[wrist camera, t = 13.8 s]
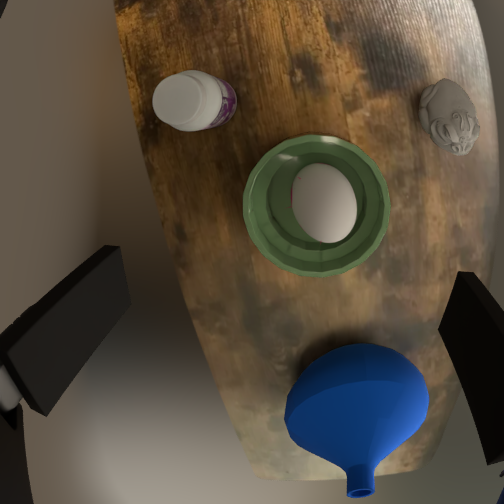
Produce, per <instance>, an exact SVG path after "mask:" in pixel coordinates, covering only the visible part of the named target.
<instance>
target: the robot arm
mask: <svg viewBox="0 0 504 504" xmlns="http://www.w3.org/2000/svg"><path fill="white" fill-rule="evenodd" d="M130 305H131V299H130V295H129V291H128V285H127V282H126V276H125V271H124V266H123V261H122V255H121V250H120V247H119V246H110V245H104V246H103V247H102V248H101V249H99V250H98V251H97V252H96V253H94V254H93V255H92V256H91V257H90V258H88V259H87V260H86V261H84V262H83V263H82V264H81V265H80V266H78V267H77V268H76V269H75V270H74V271H72V272H71V273H70V274H69V275H68V276H66V277H65V278H64V279H63V280H62V281H60V282H59V283H58V284H57V285H56V286H55V287H54V288H53V289H51V290H50V291H49V292H48V293H47V294H46V295H44V296H43V297H42V298H41V299H40V300H39V301H38V302H37V303H35V304H34V305H32V306H30V307H29V308H28V309H27V310H25V311H24V312H23V313H22V314H21V315H20V317H18V318H17V319H16V320H15V321H14V322H13V324H11V325H9V326H8V327H7V328H6V329H5V330H4V331H3V332H2V333H1V334H0V504H34V503H33V499H32V493H31V487H30V481H29V475H28V468H27V460H26V451H25V442H24V428H23V427H24V426H23V410H22V406H21V404H20V403H19V401H20V400H21V399H22V398H24V399H25V401H26V402H27V404H28V405H29V407H30V408H31V409H33V410H35V411H36V412H38V413H40V414H42V415H44V416H46V417H47V416H48V414H49V413H50V411H51V410H52V408H53V407H54V406H55V404H56V403H57V401H58V400H59V399H60V397H61V396H62V394H63V393H64V391H65V390H66V389H67V387H68V386H69V384H70V383H71V382H72V381H73V379H74V378H75V376H76V375H77V374H78V372H79V371H80V370H81V368H82V367H83V366H84V364H85V363H86V361H87V360H88V359H89V357H90V356H91V355H92V353H93V352H94V351H95V350H96V348H97V347H98V346H99V345H100V343H101V342H102V341H103V339H104V338H105V337H106V335H107V334H108V333H109V332H110V330H111V329H112V328H113V326H114V325H115V324H116V323H117V321H118V320H119V319H120V318H121V316H122V315H123V314H124V313H125V311H126V310H127V309H128V308H129V306H130ZM438 331H439V333H440V335H441V337H442V340H443V342H444V344H445V346H446V349H447V351H448V353H449V356H450V358H451V360H452V363H453V365H454V368H455V370H456V373H457V375H458V378H459V380H460V383H461V385H462V388H463V390H464V393H465V396H466V399H467V401H468V404H469V407H470V410H471V413H472V416H473V419H474V422H475V425H476V428H477V431H478V434H479V438H480V441H481V444H482V447H483V451H484V455H485V458H486V462H487V465H491V464H494V463H498V462H501V461H504V311H503V310H502V308H501V307H500V306H499V304H498V303H497V302H496V300H495V299H494V298H493V296H492V295H491V294H490V292H489V291H488V290H487V289H486V287H485V286H484V285H483V284H482V282H481V281H480V280H479V279H478V277H477V276H476V275H475V274H474V272H462V271H458V273H457V277H456V280H455V283H454V286H453V289H452V292H451V295H450V298H449V301H448V304H447V307H446V309H445V312H444V315H443V318H442V320H441V323H440V325H439V328H438ZM502 476H504V470H503V471H502V472H501V474H500V477H502ZM497 504H504V488H503V490H502V493H501V495H500V497H499V499H498V502H497Z"/></svg>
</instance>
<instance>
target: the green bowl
mask: <svg viewBox="0 0 504 504" xmlns="http://www.w3.org/2000/svg"><path fill="white" fill-rule="evenodd" d="M313 163H324V164H328V165H331V166H333V167H334V168H336V169H338V170H339V171H340V172H341V173H342V174H343V175H344V176H345V177H346V178H347V180H348V181H349V183H350V184H351V186H352V188H353V191H354V194H355V197H356V202H357V216H356V221H355V224H354V226H353V228H352V230H351V231H350V233H349V234H348V235H347V236H346V237H345V238H343V239H342V240H340V241H337V242H333V243H324V242H321V244H320V241H318V240H316V239H314V238H312V237H311V236H309V235H308V234H307V233H306V232H305V231H304V230H303V229H302V228H301V226H300V225H299V223H298V221H297V220H296V218H295V215H294V213H293V209H292V207H290V206H292V205H291V188H292V184H293V181H294V179H295V177H296V175H297V174H298V173H299V171H300V170H301V169H303V168H304V167H305V166H307V165H310V164H313ZM390 205H391V203H390V198H389V192H388V187H387V183H386V181H385V179H384V177H383V175H382V173H381V172H380V170H379V168H378V166H377V164H376V163H375V162H374V161H373V160H372V159H371V158H370V157H369V156H368V155H367V154H366V153H364V152H363V151H362V150H361V149H360V148H359V147H358V146H356V145H355V144H353V143H351V142H350V141H347V140H345V139H343V138H340V137H338V136H336V135H333V134H330V133H319V132H306V133H302V134H298V135H294V136H291V137H288V138H286V139H284V140H283V141H281V142H280V143H278V144H277V145H275V146H274V147H272V148H271V149H270V150H269V151H267V152H266V153H265V154H264V155H263V157H262V158H261V159H260V160H259V162H258V163H257V164H256V166H255V167H254V168H253V170H252V171H251V172H250V174H249V177H248V180H247V183H246V186H245V189H244V192H243V218H244V221H245V224H246V227H247V230H248V233H249V236H250V238H251V240H252V241H253V243H254V244H255V245H256V247H257V248H258V249H259V251H260V252H261V253H262V255H263V256H264V257H266V258H267V259H268V260H270V261H271V262H272V263H274V264H275V265H276V266H278V267H279V268H281V269H283V270H286V271H289V272H291V273H294V274H297V275H299V276H308V277H327V276H332V275H337V274H342V273H345V272H347V271H348V270H350V269H352V268H354V267H356V266H358V265H359V264H361V263H363V262H364V261H365V260H366V259H367V258H368V257H369V256H370V255H371V254H372V253H373V252H374V251H375V250H376V248H377V247H378V246H379V244H380V242H381V240H382V238H383V236H384V234H385V232H386V230H387V227H388V222H389V215H390V208H391V206H390ZM288 207H290V208H288Z"/></svg>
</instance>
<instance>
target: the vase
mask: <svg viewBox="0 0 504 504" xmlns="http://www.w3.org/2000/svg"><path fill="white" fill-rule="evenodd" d="M428 404H429V395H428V391H427V387H426V384H425V381H424V378H423V375H422V374H421V373H420V372H419V370H418V369H417V368H416V367H415V366H414V365H413V364H412V363H411V362H410V361H409V360H408V359H406V358H405V357H404V356H403V355H402V354H400V353H398V352H396V351H395V350H393V349H390V348H386V347H382V346H378V345H374V344H364V343H357V344H351V345H345V346H342V347H339V348H336V349H333V350H331V351H330V352H328V353H326V354H325V355H323V356H321V357H320V358H318V359H316V360H314V361H313V362H312V363H311V364H310V365H309V366H308V367H307V368H306V369H305V370H304V371H303V372H302V374H301V375H300V377H299V378H298V380H297V381H296V382H295V384H294V385H293V387H292V389H291V391H290V392H289V394H288V396H287V402H286V409H285V417H284V420H285V423H286V426H287V429H288V432H289V435H290V437H291V439H292V440H293V441H294V442H295V443H296V444H297V445H298V446H300V447H302V448H303V449H305V450H307V451H309V452H311V453H313V454H315V455H317V456H319V457H321V458H324V459H326V460H328V461H329V462H331V463H333V464H335V465H337V466H339V467H341V468H342V469H343V470H344V471H345V472H346V475H347V496H348V497H351V498H360V497H366V496H369V495H372V494H373V493H374V492H375V487H374V470H375V468H376V466H377V465H378V464H379V463H380V461H381V460H383V459H384V458H385V457H386V456H387V455H389V454H390V453H391V452H392V451H393V450H395V449H396V448H397V447H398V446H400V445H401V444H402V443H403V442H405V441H406V440H407V439H408V438H409V437H410V436H412V435H413V434H414V433H415V432H416V431H417V430H418V429H419V428H420V426H421V425H422V423H423V422H424V420H425V418H426V414H427V409H428Z"/></svg>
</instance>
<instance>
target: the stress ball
mask: <svg viewBox="0 0 504 504" xmlns="http://www.w3.org/2000/svg"><path fill="white" fill-rule="evenodd" d="M291 205H292V206H290V207H292V209H293V213H294V215H295V218H296V220H297V221H298V223H299V225H300V226H301V228H302V229H303V230H304V231H305V232H306V233H307V234H308V235H309V236H311V237H312V238H314V239H316V240H318V241H320V244H321V242H324V243H333V242H337V241H340V240H342V239H343V238H345V237H346V236H347V235H348V234H349V233H350V231H351V230H352V228H353V226H354V224H355V221H356V216H357V202H356V197H355V194H354V191H353V188H352V186H351V184H350V183H349V181H348V180H347V178H346V177H345V176H344V175H343V174H342V173H341V172H340V171H339V170H338V169H336V168H334V167H333V166H331V165H328V164H324V163H313V164H310V165H307V166H305V167H304V168H303V169H301V170H300V171H299V173H298V174H297V175H296V177H295V179H294V181H293V184H292V188H291ZM290 207H288V208H290Z"/></svg>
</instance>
